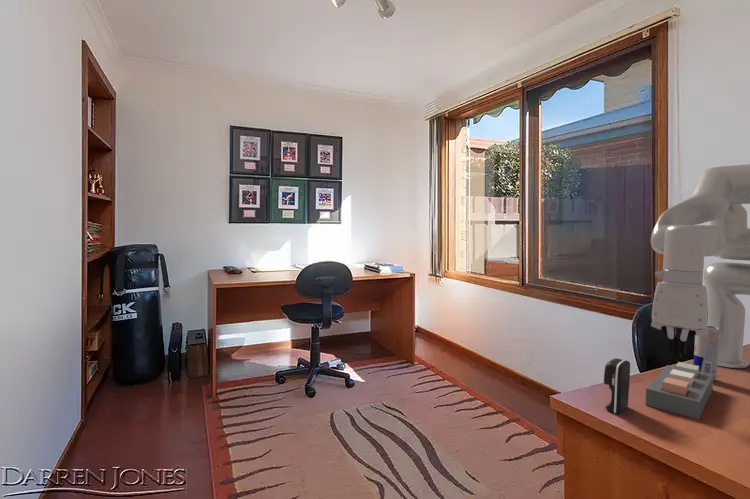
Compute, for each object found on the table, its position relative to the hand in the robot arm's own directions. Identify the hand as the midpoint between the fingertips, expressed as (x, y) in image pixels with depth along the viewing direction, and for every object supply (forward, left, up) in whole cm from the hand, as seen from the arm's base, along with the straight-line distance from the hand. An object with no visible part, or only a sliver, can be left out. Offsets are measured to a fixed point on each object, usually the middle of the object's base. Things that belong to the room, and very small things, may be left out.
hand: (676, 355), depth 95 cm
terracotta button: (0, 0, -10) cm, 10 cm away
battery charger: (+5, -14, -13) cm, 19 cm away
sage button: (-14, +8, -10) cm, 19 cm away
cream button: (-7, +4, -10) cm, 13 cm away
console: (-7, +4, -12) cm, 15 cm away
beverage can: (-23, +16, -13) cm, 31 cm away
